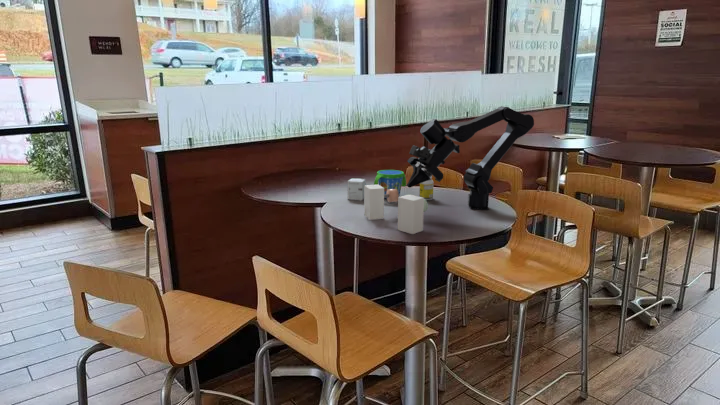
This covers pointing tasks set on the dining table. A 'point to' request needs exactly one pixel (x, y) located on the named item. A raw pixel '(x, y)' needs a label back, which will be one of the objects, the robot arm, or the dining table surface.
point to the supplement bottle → (426, 189)
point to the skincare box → (356, 189)
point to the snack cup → (390, 180)
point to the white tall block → (374, 202)
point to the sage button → (425, 205)
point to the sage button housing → (410, 213)
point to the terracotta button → (392, 195)
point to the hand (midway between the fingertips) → (408, 186)
